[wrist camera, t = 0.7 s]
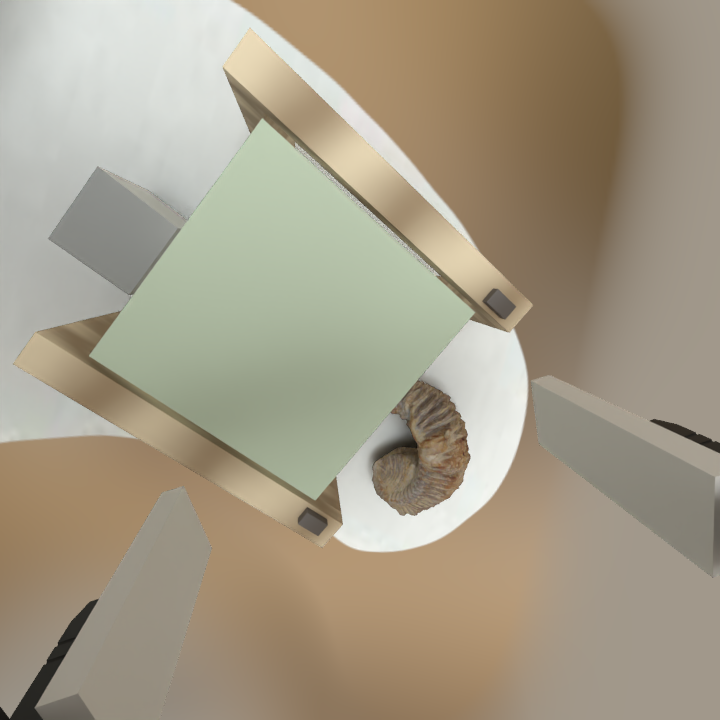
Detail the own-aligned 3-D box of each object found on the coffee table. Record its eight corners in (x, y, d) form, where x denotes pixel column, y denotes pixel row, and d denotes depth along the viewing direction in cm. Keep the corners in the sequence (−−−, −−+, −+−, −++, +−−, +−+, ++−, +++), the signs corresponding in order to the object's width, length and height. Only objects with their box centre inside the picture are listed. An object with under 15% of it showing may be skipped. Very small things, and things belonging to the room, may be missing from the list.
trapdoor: (123, 342, 22) (88, 355, 19) (270, 143, 21) (262, 118, 17) (314, 469, 26) (315, 500, 22) (451, 306, 24) (475, 312, 21)
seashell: (403, 476, 45) (466, 533, 37) (329, 487, 39) (384, 558, 31) (433, 368, 42) (510, 406, 34) (358, 363, 36) (428, 408, 28)
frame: (142, 320, 33) (3, 367, 18) (276, 139, 31) (248, 19, 16) (316, 438, 38) (322, 554, 23) (440, 288, 36) (539, 306, 21)
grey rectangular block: (111, 245, 31) (47, 238, 24) (149, 191, 31) (97, 166, 23) (170, 288, 33) (129, 295, 25) (208, 237, 32) (177, 228, 24)
